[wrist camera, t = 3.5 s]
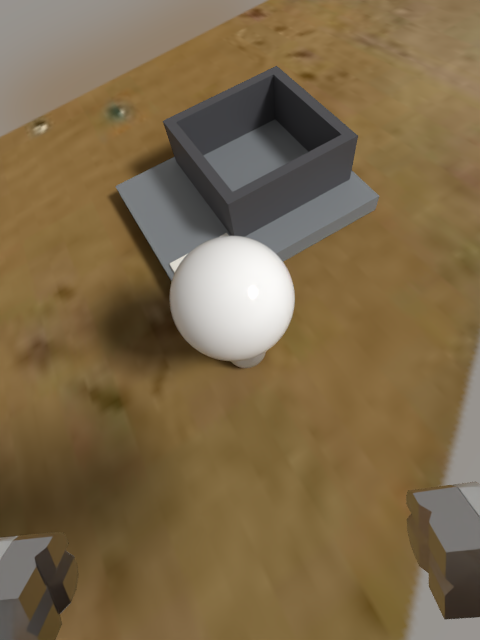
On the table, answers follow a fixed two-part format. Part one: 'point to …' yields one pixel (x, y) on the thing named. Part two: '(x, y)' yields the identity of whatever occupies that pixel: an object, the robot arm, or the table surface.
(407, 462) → the table surface
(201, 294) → the lightbulb
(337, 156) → the socket board
